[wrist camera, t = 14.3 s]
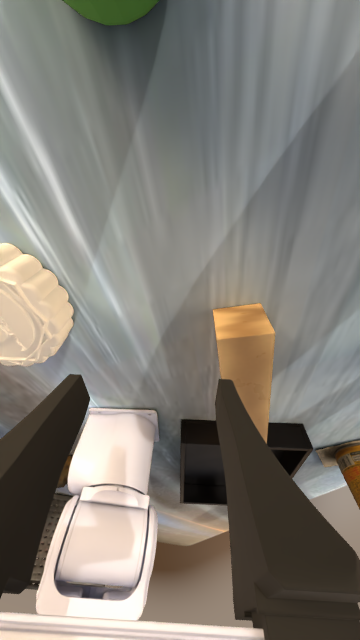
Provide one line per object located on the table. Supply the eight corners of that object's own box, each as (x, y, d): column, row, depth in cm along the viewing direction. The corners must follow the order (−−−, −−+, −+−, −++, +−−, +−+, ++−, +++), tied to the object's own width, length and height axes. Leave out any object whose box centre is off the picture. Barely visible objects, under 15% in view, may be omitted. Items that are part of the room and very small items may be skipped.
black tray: (180, 482, 46) (180, 503, 43) (181, 419, 32) (180, 443, 29) (266, 486, 45) (270, 507, 42) (302, 423, 32) (313, 449, 29)
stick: (225, 416, 31) (229, 449, 28) (212, 309, 21) (217, 339, 17) (257, 414, 31) (266, 447, 27) (260, 303, 20) (275, 332, 17)
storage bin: (123, 505, 55) (107, 590, 44) (106, 523, 66) (89, 596, 55) (-2, 481, 49) (-57, 573, 38) (1, 506, 60) (-42, 583, 49)
